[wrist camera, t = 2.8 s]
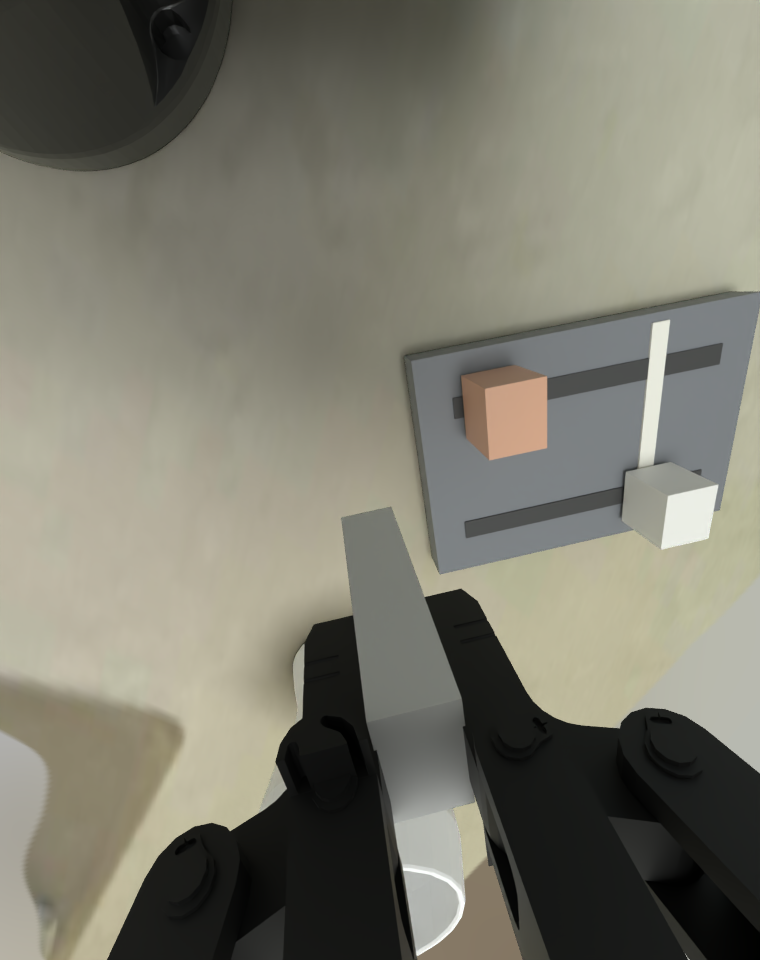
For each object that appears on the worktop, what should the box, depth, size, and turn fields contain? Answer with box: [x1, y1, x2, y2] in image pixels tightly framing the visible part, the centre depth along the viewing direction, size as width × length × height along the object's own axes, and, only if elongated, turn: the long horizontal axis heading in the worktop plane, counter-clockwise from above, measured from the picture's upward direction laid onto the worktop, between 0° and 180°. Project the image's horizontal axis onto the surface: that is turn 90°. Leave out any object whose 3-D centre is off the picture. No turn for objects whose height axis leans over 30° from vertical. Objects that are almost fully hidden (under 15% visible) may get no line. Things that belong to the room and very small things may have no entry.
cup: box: [259, 643, 465, 956], centre depth 26 cm, size 11×11×15 cm
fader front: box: [461, 365, 547, 460], centre depth 22 cm, size 4×3×4 cm
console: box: [404, 292, 760, 574], centre depth 27 cm, size 14×20×2 cm
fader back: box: [622, 462, 719, 550], centre depth 26 cm, size 4×3×4 cm
